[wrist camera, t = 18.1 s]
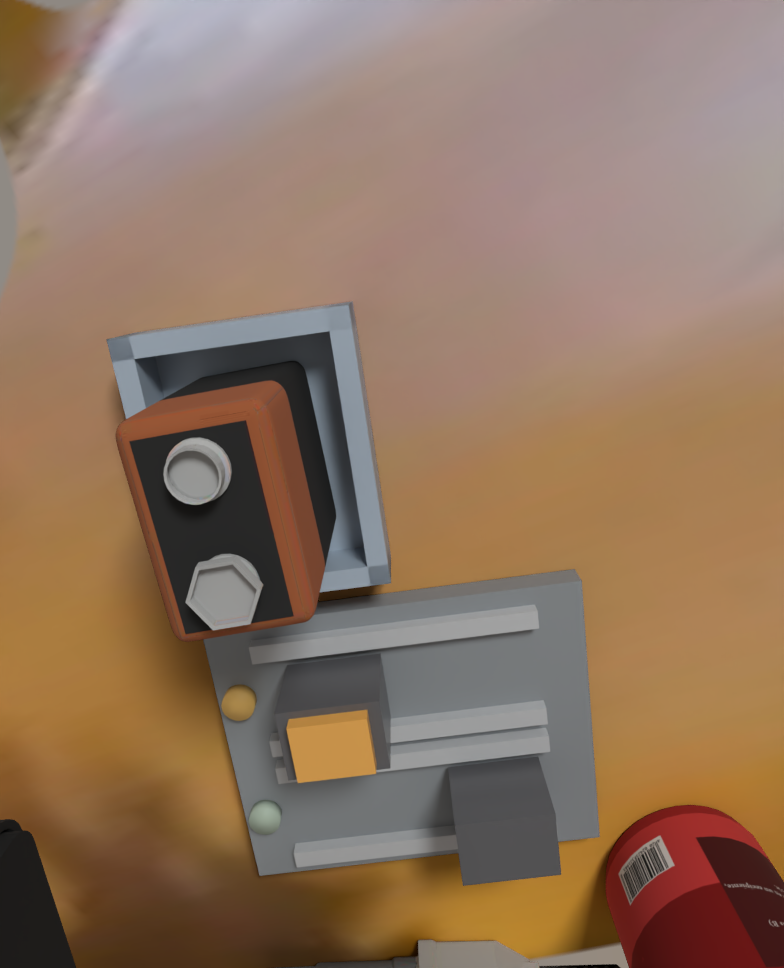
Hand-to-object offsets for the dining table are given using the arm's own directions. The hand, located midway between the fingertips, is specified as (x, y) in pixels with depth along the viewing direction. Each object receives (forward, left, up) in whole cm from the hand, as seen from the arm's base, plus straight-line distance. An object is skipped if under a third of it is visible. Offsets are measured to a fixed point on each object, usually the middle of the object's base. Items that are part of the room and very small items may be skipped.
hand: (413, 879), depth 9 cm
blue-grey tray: (-1, -5, -21) cm, 22 cm away
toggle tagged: (+10, -4, -20) cm, 22 cm away
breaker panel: (+13, -1, -21) cm, 25 cm away
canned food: (+23, +11, -22) cm, 33 cm away
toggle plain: (+16, +2, -20) cm, 25 cm away
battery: (-1, -5, -21) cm, 22 cm away
